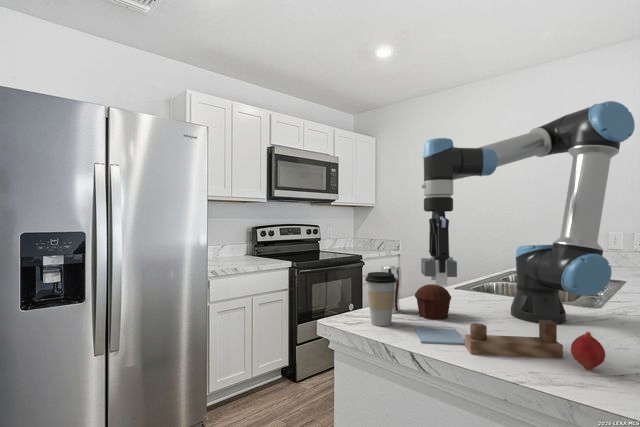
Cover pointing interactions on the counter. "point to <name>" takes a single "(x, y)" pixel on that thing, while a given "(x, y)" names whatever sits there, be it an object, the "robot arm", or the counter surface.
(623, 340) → the counter surface
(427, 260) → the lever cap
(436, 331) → the mat
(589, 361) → the onion
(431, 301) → the muffin
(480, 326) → the wooden block with pegs
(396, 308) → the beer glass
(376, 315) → the coffee cup
